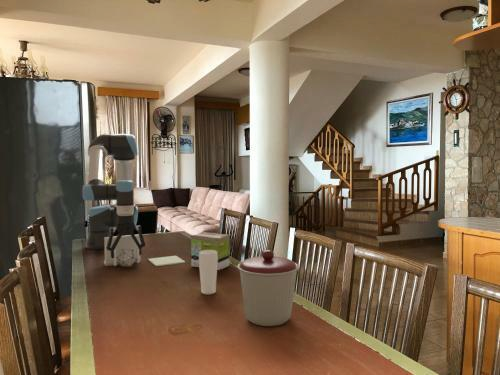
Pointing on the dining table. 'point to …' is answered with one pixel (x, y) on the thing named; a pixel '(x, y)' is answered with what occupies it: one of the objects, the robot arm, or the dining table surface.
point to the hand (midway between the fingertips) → (126, 263)
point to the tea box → (210, 247)
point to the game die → (126, 258)
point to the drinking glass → (208, 270)
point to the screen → (125, 244)
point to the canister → (268, 288)
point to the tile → (166, 260)
